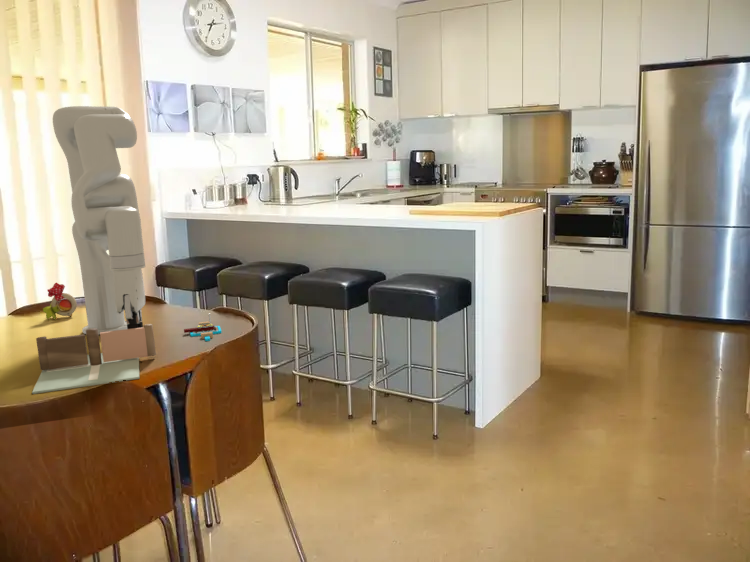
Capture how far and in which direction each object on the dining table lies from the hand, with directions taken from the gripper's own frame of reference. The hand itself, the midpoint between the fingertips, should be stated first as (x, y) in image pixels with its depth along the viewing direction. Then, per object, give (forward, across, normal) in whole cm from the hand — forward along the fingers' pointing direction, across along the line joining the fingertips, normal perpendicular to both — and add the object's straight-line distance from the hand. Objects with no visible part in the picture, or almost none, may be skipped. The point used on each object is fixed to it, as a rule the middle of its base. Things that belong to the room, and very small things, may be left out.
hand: (136, 339), depth 156 cm
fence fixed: (+3, +8, -12) cm, 15 cm away
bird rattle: (+4, -54, -34) cm, 64 cm away
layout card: (+4, +10, -8) cm, 13 cm away
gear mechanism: (+4, -18, +13) cm, 22 cm away
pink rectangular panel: (+3, +6, -1) cm, 6 cm away
